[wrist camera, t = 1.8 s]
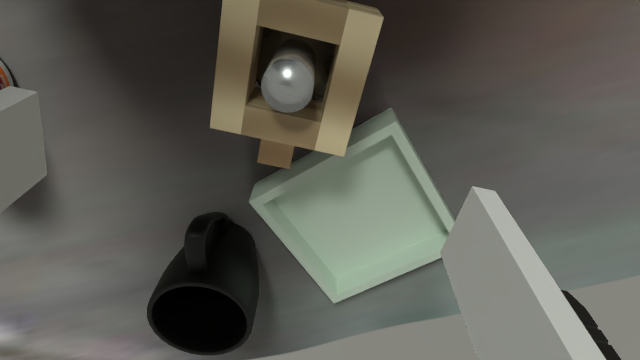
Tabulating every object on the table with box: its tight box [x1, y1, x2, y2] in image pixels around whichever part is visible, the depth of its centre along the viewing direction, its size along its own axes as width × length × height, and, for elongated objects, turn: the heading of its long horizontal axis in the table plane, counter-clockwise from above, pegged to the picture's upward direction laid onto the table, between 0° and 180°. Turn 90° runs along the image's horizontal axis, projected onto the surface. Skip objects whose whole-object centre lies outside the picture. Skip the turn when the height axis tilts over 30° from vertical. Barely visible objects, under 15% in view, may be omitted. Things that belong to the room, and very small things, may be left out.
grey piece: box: [256, 27, 336, 113], centre depth 26 cm, size 6×6×12 cm
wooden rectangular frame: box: [210, 0, 384, 169], centre depth 24 cm, size 10×8×4 cm
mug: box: [147, 212, 259, 355], centre depth 35 cm, size 8×12×10 cm
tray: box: [249, 107, 456, 303], centre depth 36 cm, size 14×14×3 cm
